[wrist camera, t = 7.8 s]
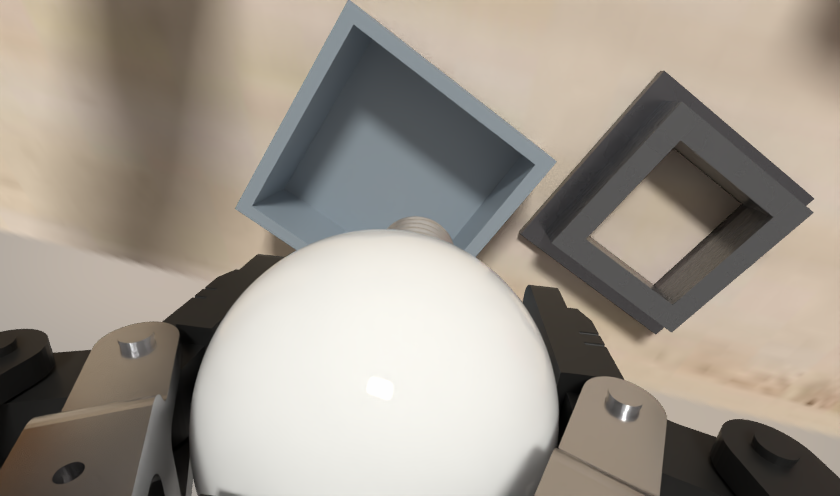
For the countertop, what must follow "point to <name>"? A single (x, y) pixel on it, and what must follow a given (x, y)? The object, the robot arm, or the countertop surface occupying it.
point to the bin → (388, 148)
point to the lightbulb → (375, 376)
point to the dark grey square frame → (628, 165)
